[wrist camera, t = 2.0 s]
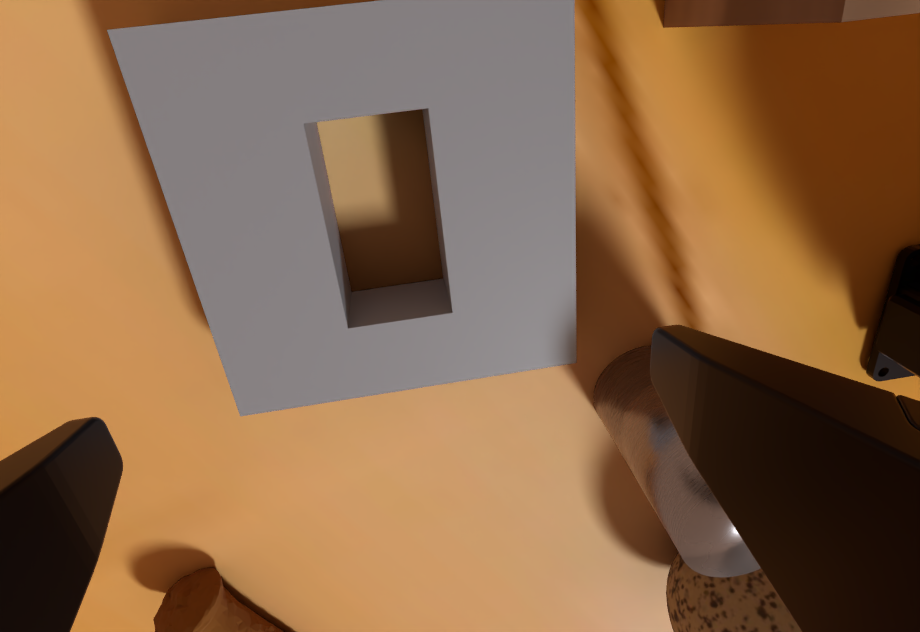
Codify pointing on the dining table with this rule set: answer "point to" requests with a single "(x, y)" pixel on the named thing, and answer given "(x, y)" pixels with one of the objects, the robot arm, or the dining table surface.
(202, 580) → the primitive tool
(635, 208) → the dining table surface
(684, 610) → the decorative egg
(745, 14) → the walnut bar
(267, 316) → the slotted block
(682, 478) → the round metal peg
